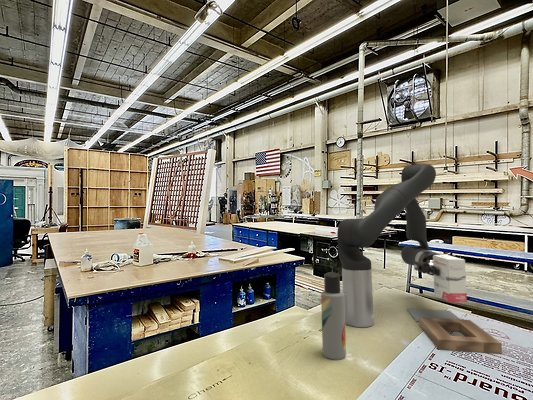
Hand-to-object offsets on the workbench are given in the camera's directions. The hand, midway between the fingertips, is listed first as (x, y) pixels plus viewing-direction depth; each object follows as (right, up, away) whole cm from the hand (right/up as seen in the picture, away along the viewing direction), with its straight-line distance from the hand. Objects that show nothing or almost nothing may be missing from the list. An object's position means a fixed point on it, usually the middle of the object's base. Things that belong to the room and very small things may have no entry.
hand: (449, 272), depth 82 cm
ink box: (+1, -8, +1) cm, 8 cm away
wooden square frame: (0, -17, -3) cm, 18 cm away
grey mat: (+4, -18, +14) cm, 23 cm away
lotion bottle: (-35, -18, -10) cm, 41 cm away
